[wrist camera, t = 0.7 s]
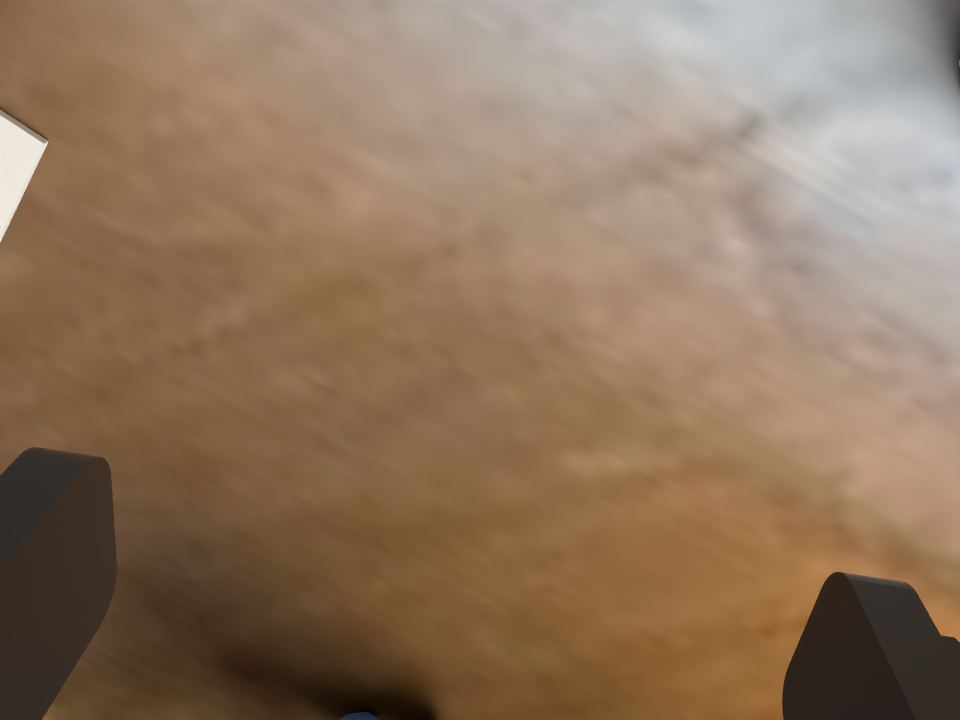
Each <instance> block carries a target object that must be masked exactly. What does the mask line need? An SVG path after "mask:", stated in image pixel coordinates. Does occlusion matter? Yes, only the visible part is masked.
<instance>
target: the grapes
mask: <svg viewBox="0 0 960 720" xmlns="http://www.w3.org/2000/svg"><path fill="white" fill-rule="evenodd" d="M339 720H381V719H380V718H378V717H376V716H374V715H372V714H370V713H368V712H360V713H352V714H347V715H345V716H344V717H342V718H341V719H339Z"/></svg>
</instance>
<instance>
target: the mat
mask: <svg viewBox="0 0 960 720" xmlns="http://www.w3.org/2000/svg"><path fill="white" fill-rule="evenodd" d="M48 142H49V141H48V140H46V139H45V138H43V137H42V136H40V135H39V134H37V133H35V132H34V131H32V130H31V129H29V128H28V127H26V126H25V125H23V124H22V123H20V122H19V121H17V120H16V119H14V118H13V117H11V116H10V115H8V114H7V113H5V112H3V111H2V110H0V242H1V240H2V238H3V236H4V234H5V231H6V229H7V227H8V225H9V223H10V221H11V219H12V217H13V215H14V213H15V211H16V208H17V206H18V204H19V202H20V200H21V198H22V196H23V194H24V192H25V190H26V188H27V186H28V183H29V181H30V179H31V177H32V175H33V173H34V171H35V169H36V167H37V165H38V163H39V160H40V158H41V156H42V154H43V152H44V150H45V148H46V146H47V144H48Z"/></svg>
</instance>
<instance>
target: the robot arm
mask: <svg viewBox="0 0 960 720" xmlns="http://www.w3.org/2000/svg"><path fill="white" fill-rule="evenodd" d="M959 66H960V62H959ZM116 571H117V562H116V546H115V530H114V515H113V499H112V483H111V472H110V468H109V465H108V463H107V461H106V460H105V459H104V458H102V457H96V456H89V455H83V454H76V453H69V452H63V451H56V450H50V449H43V448H36V447H33V448H29V449H27V450H26V451H24V452H23V453H22V454H21V455H20V456H19V457H18V458H17V459H16V460H15V461H14V462H13V463H12V464H11V465H10V466H9V467H8V468H7V469H6V470H5V471H4V472H3V473H2V474H1V475H0V720H42V718H43V717H44V715H45V714H46V712H47V710H48V709H49V707H50V706H51V704H52V702H53V701H54V699H55V698H56V696H57V694H58V693H59V691H60V689H61V688H62V686H63V685H64V683H65V681H66V680H67V678H68V677H69V675H70V673H71V672H72V670H73V668H74V667H75V665H76V664H77V662H78V660H79V659H80V657H81V656H82V654H83V652H84V651H85V649H86V647H87V646H88V644H89V643H90V641H91V639H92V638H93V636H94V635H95V633H96V631H97V630H98V628H99V626H100V625H101V623H102V621H103V619H104V617H105V615H106V613H107V610H108V608H109V605H110V602H111V599H112V595H113V591H114V586H115V580H116ZM782 704H783V718H784V720H960V642H959V641H957V640H956V639H955V638H954V637H947V636H941V635H940V633H939V632H938V630H937V628H936V626H935V624H934V623H933V621H932V619H931V617H930V616H929V614H928V612H927V610H926V608H925V607H924V605H923V603H922V601H921V600H920V598H919V596H918V594H917V593H916V591H915V590H914V589H913V588H912V587H911V586H910V585H909V584H907V583H905V582H901V581H894V580H888V579H881V578H874V577H868V576H861V575H855V574H848V573H842V572H835V573H833V574H831V575H830V576H829V577H828V578H827V580H826V581H825V582H824V584H823V586H822V589H821V591H820V593H819V596H818V598H817V600H816V603H815V605H814V607H813V610H812V612H811V615H810V617H809V619H808V622H807V624H806V626H805V629H804V631H803V633H802V636H801V638H800V641H799V643H798V645H797V648H796V650H795V652H794V655H793V657H792V659H791V662H790V664H789V667H788V669H787V672H786V676H785V680H784V686H783V700H782Z"/></svg>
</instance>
